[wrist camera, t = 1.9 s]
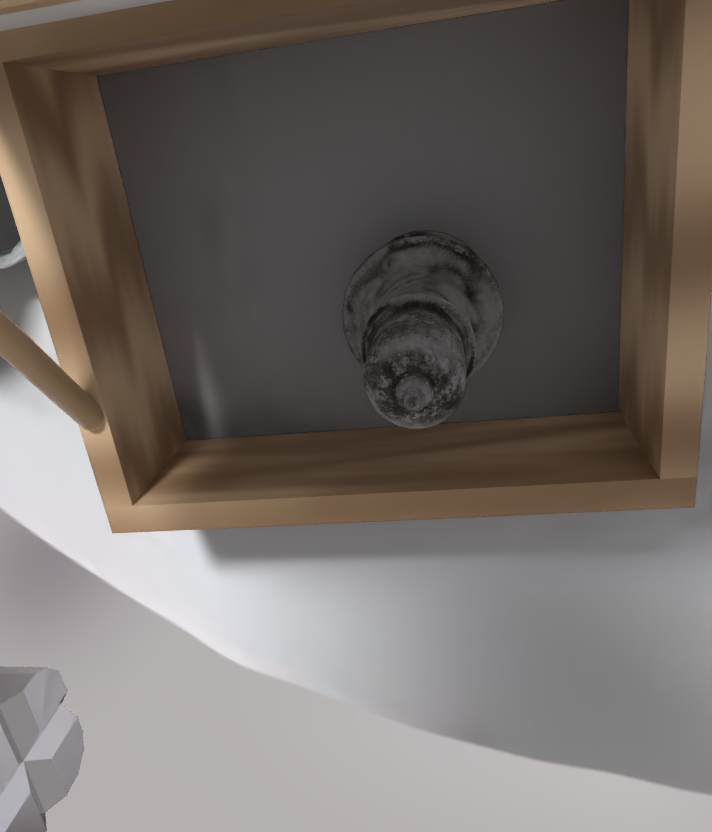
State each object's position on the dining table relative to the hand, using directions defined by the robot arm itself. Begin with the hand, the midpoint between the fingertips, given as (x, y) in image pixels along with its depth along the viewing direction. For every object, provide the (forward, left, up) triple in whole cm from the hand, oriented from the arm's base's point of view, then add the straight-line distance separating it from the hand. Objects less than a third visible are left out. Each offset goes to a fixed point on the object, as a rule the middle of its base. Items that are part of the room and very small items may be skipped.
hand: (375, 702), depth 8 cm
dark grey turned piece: (0, 0, -22) cm, 22 cm away
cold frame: (-2, -2, -21) cm, 21 cm away
